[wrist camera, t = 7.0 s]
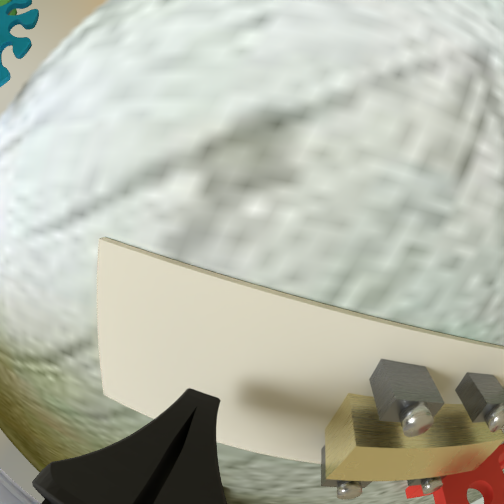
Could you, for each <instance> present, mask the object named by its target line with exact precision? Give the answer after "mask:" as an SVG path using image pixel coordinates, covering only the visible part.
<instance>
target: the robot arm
mask: <svg viewBox="0 0 504 504" xmlns="http://www.w3.org/2000/svg"><path fill="white" fill-rule="evenodd" d="M220 401H221V400H220V399H219V398H217V397H214V396H211V395H208V394H205V393H202V392H200V391H197V390H194V389H191V388H188V389H186V391H185V392H184V393H183V394H182V395H181V396H180V397H179V398H178V399H177V400H176V401H175V402H174V403H173V404H172V405H171V406H170V407H169V408H168V409H166V410H165V411H164V412H163V413H161V414H160V415H159V416H158V417H157V418H155V419H154V420H153V421H151V422H150V423H148V424H147V425H145V426H144V427H142V428H141V429H140V430H138V431H136V432H135V433H133V434H131V435H130V436H128V437H126V438H124V439H122V440H120V441H118V442H116V443H114V444H112V445H110V446H107V447H105V448H103V449H100V450H97V451H94V452H91V453H88V454H85V455H82V456H79V457H75V458H70V459H65V460H60V461H55V462H51V463H50V464H49V465H47V466H46V467H45V468H44V469H43V470H42V471H41V472H40V473H39V475H37V477H36V478H35V479H34V480H33V482H32V483H33V486H34V488H35V489H36V490H37V491H38V492H39V493H40V494H41V495H42V496H43V497H44V498H45V500H44V501H43V502H42V504H227V502H226V498H225V495H224V491H223V487H222V483H221V478H220V472H219V466H218V457H217V445H216V424H217V414H218V408H219V405H220ZM0 504H41V503H40V502H38V501H37V500H36V499H34V498H33V497H32V496H30V495H29V494H28V493H27V492H26V491H25V490H24V489H22V488H21V487H20V486H19V485H18V484H17V483H16V482H15V481H13V480H12V479H11V478H10V477H9V476H8V475H7V474H6V473H5V472H4V471H3V470H2V469H1V468H0Z"/></svg>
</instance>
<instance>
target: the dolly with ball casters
mask: <svg viewBox="0 0 504 504" xmlns="http://www.w3.org/2000/svg"><path fill="white" fill-rule="evenodd" d="M369 381H370V385H371V388H372V392H373V396H374V400H375V404H376V408H377V412H378V416H379V420H380V421H387V422H401V426H402V429H403V432H404V435H405V436H407V437H415V436H418V435H421V434H423V433H424V432H426V431H427V430H428V429H429V428H430V427H431V426H432V424H433V422H434V419H433V418H434V416H435V415H436V414H437V413H438V411H439V410H440V409H441V407H442V406H443V405H444V401H443V399H442V397H441V395H440V393H439V391H438V389H437V387H436V385H435V383H434V381H433V379H432V377H431V376H430V374H429V372H428V370H427V368H426V366H420V365H414V364H408V363H403V362H397V361H392V360H386V359H381V360H380V361H379V363H378V365H377V367H376V368H375V370H374V372H373V374H372V375H371V377H370V379H369ZM455 391H456V393H457V395H458V397H459V398H460V400H461V402H462V404H463V406H464V407H465V409H466V411H467V413H468V415H469V417H470V419H471V421H472V423H478V422H486V424H487V426H488V428H489V429H490V431H491V432H495V431H497V430H499V429H500V428H502V427H503V426H504V388H503V387H502V385H501V384H500V383H499V381H498V380H497V379H496V377H495V376H494V375H491V374H481V373H471V372H467V373H466V374H465V376H464V377H463V379H462V380H461V382H460V383H459V385H458V386H457V388H456V389H455ZM446 476H447V475H445V476H438V477H431V478H422V479H411V480H407V481H408V486H414V485H421V486H422V490H423V494H430V493H432V492H435V491H437V490H438V489H440V488H441V487H442V486H443V483H442V479H443V478H445V477H446ZM371 482H372V481H347V480H332V479H326V460H325V445H324V446H323V448H322V449H321V486H328V487H337V497H338V498H339V499H352V498H355V497H358V496H360V495H361V494H362V488H365V487H366V486H367V485H368V484H370V483H371Z"/></svg>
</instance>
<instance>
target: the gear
mask: <svg viewBox="0 0 504 504" xmlns="http://www.w3.org/2000/svg"><path fill="white" fill-rule="evenodd" d="M31 4H32V0H0V87H1V86H2V85H4V84H5V83H6V82H7V81H9V80H10V73H9V71H8V70H7V68H5V67H3V65H2V62H1V54H2V51H3V50H4V48H6V47H7V46H10V45H12V46H13V53H14V55H15V56H16V58H18V59H21V58H22V57H24V55H25V54H26V53H27V52H28V51H29V49H30V48H31V46H32V45H31V41H30V39H29V38H27V37H24V38H17V37H14V36H13V35H11V34H10V30H11V29H12V27H14V26H15V25H17V24H21V25H22V26H23V27H24V28H25V29H32V28H34V27H35V25H36V23H37V21H38V17H39V11H38V10H37V9H33V10H30V11H28V12H26V13H23V14H20V15H16V14H17V11H16V8H20V9H23V8H26V7H28V6H29V5H31Z"/></svg>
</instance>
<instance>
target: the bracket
mask: <svg viewBox="0 0 504 504" xmlns="http://www.w3.org/2000/svg"><path fill="white" fill-rule="evenodd" d="M502 469H504V444H501V445H499V446H498V447H497V449H496V450H495V451H494V452H493V453H492V454H491V455H490V456H489V457H488V458H487V459H486V460H485V461H484V462H483V463H482V464H481V465H479V466H478V467H477V468H476V469H475V470H472V471H467V472H462V473H457V474H451V475H447V476H446V477H445V478H443V479H442V483H443V486H442V487H441V488H440V489H438V490H437V491H435V492H432V493H430V494H433V495H434V500H435V504H469V502H468V500H467V490H468V489H469V488H473V489H477V490H478V491H480V492H481V493H482V495H483V497H484V504H504V474H503V471H502ZM406 495H407V499H408V498H414V497H420V496H425V495H429V494H423V490H422V486H421V485H414V486H409V487H408V488H407V489H406Z"/></svg>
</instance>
